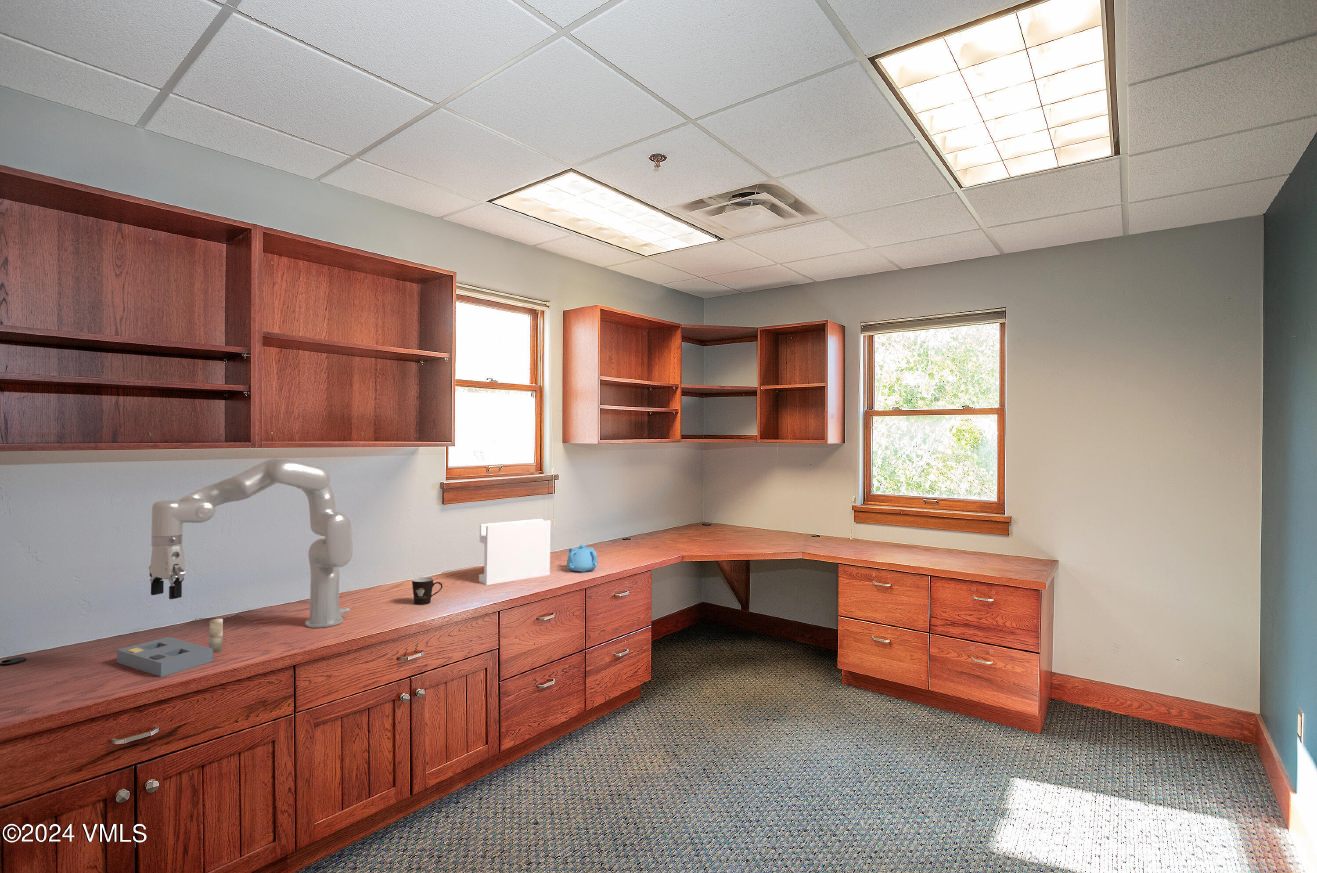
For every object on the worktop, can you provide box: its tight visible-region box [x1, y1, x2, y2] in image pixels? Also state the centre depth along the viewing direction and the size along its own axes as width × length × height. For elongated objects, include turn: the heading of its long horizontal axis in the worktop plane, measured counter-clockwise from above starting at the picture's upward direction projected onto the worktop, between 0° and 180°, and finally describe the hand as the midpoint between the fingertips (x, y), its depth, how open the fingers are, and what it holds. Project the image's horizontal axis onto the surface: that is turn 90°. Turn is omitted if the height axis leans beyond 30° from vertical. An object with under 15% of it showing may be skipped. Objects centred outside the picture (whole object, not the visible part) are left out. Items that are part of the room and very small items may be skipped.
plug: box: [208, 618, 224, 654], centre depth 204 cm, size 4×4×10 cm
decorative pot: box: [566, 544, 599, 573], centre depth 333 cm, size 16×16×14 cm
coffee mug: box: [411, 576, 443, 606], centre depth 264 cm, size 12×9×10 cm
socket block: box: [116, 636, 214, 678], centre depth 194 cm, size 14×24×4 cm, turn 65°
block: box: [478, 518, 552, 586], centre depth 312 cm, size 35×8×28 cm, turn 132°
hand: (166, 596), depth 193 cm, fingers open, 9 cm apart
